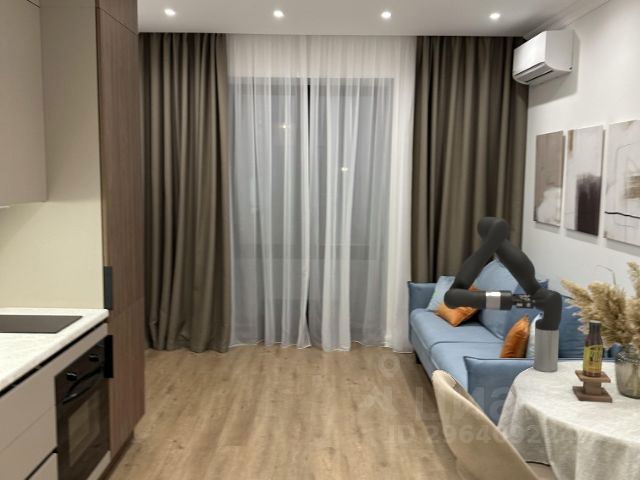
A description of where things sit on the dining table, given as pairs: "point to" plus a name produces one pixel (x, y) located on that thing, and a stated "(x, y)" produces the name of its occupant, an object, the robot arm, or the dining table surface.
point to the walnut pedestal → (592, 388)
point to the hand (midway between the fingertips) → (543, 301)
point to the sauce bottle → (593, 350)
